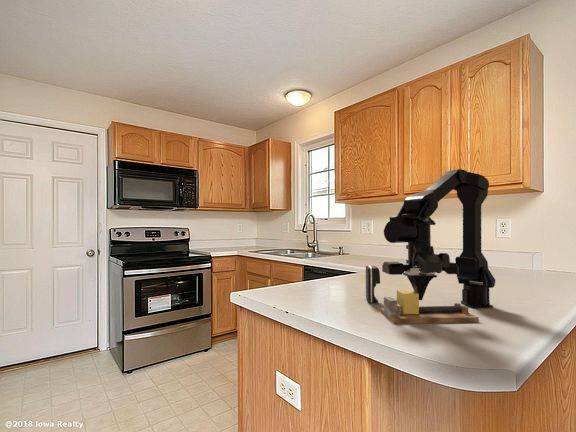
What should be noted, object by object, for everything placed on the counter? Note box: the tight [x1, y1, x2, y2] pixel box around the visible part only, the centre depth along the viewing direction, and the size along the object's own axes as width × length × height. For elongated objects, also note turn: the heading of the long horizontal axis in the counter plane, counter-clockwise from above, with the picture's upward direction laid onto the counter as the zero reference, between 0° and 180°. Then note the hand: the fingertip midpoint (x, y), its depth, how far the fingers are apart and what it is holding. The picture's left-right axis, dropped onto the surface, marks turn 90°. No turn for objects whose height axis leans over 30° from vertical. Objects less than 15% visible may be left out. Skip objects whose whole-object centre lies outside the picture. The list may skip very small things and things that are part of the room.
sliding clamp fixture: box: [380, 296, 480, 324], centre depth 85 cm, size 22×10×5 cm, turn 93°
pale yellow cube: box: [396, 289, 420, 314], centre depth 85 cm, size 4×5×5 cm
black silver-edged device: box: [365, 264, 381, 304], centre depth 103 cm, size 7×4×11 cm, turn 174°
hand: (419, 299), depth 85 cm, fingers closed
